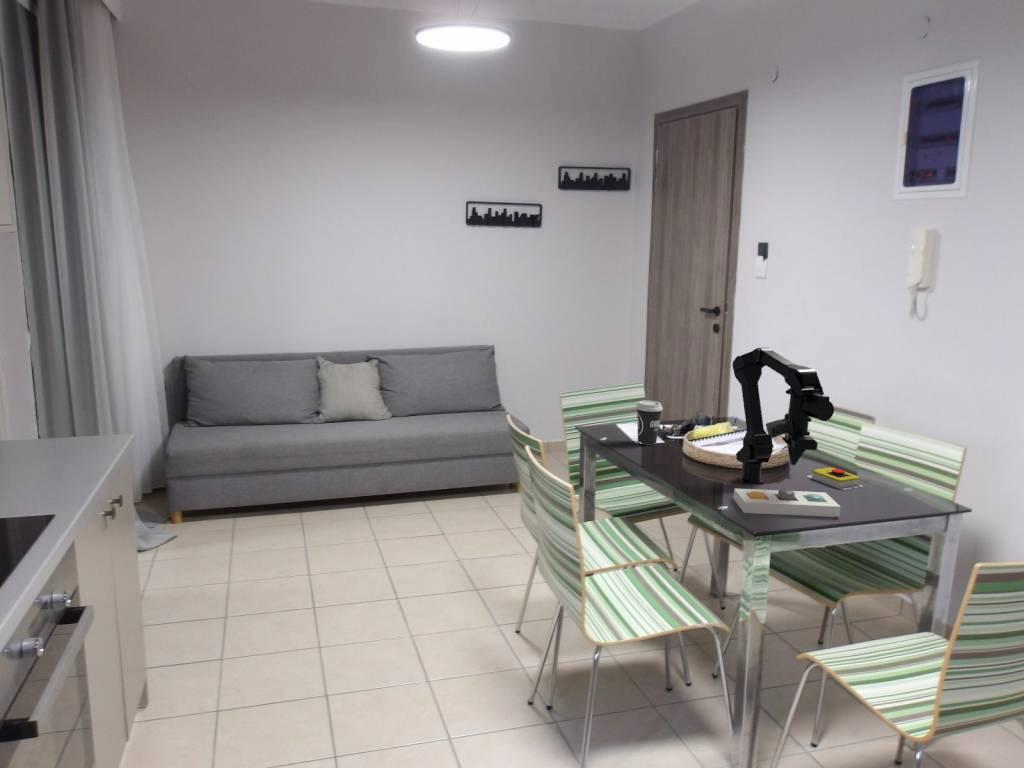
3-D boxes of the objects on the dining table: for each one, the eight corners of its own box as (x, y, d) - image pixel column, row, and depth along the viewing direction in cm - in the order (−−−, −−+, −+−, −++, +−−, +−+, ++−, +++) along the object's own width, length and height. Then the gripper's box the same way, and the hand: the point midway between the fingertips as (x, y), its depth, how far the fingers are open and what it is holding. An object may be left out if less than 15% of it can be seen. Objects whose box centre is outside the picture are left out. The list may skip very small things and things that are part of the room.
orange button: (746, 499, 227) (747, 491, 226) (762, 500, 226) (763, 491, 226) (750, 504, 222) (751, 496, 222) (766, 505, 222) (767, 496, 222)
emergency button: (844, 478, 241) (806, 464, 254) (843, 492, 242) (804, 477, 255) (866, 474, 245) (827, 461, 258) (864, 488, 246) (825, 474, 259)
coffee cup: (645, 448, 282) (647, 406, 279) (628, 441, 290) (630, 401, 287) (665, 445, 286) (668, 404, 284) (648, 438, 294) (651, 399, 292)
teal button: (803, 502, 226) (804, 493, 226) (819, 502, 226) (820, 494, 225) (808, 507, 222) (809, 498, 221) (824, 508, 222) (825, 499, 221)
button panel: (733, 498, 231) (734, 488, 230) (824, 502, 230) (825, 492, 229) (743, 512, 219) (744, 502, 218) (839, 517, 218) (840, 506, 217)
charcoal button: (775, 497, 226) (776, 489, 226) (791, 498, 226) (792, 490, 226) (780, 503, 222) (781, 494, 221) (796, 503, 222) (796, 495, 221)
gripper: (761, 403, 236) (756, 453, 239) (780, 419, 217) (773, 473, 221) (799, 405, 235) (793, 455, 239) (821, 421, 217) (814, 475, 220)
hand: (792, 464), depth 230 cm, fingers closed
